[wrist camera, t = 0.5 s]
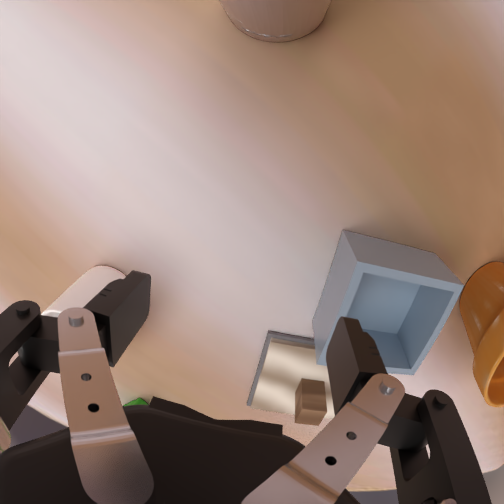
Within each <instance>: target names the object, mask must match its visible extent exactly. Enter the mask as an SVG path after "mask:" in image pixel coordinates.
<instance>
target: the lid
mask: <svg viewBox="0 0 504 504" xmlns="http://www.w3.org/2000/svg"><path fill="white" fill-rule="evenodd" d="M250 408H252V409H257V410H263V411H269V412H276V413H282V414H289V415H295V423H299V424H308V425H318V426H319V424H320V423H321V421H322V419H323V418H324V419H333V418H334V417H335V414H334V407H333V400H332V394H331V388H330V381H329V375H328V369H327V366H323V365H316V354H315V345H310V344H304V343H299V342H293V341H287V340H282V339H277V338H271V341H270V344H269V347H268V351H267V354H266V357H265V360H264V364H263V367H262V370H261V374H260V377H259V380H258V383H257V386H256V390H255V393H254V396H253V399H252V402H251V407H250Z"/></svg>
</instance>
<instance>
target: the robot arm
mask: <svg viewBox="0 0 504 504" xmlns="http://www.w3.org/2000/svg"><path fill="white" fill-rule="evenodd" d="M219 1H220V3H221V5H222V6H223V8H224V10H225V11H226V13H227V14H228V16H229V18H230V20H231V21H232V23H233V24H234V25H235V26H236V27H237V28H238V29H239V30H241V31H242V32H244V33H245V34H247V35H249V36H251V37H253V38H256V39H259V40H263V41H269V42H286V41H291V40H295V39H299V38H301V37H303V36H305V35H307V34H309V33H310V32H312V31H313V30H314V29H316V28H317V27H318V25H319V24H320V23H321V22H322V20H323V18H324V16H325V14H326V11H327V9H328V6H329V4H330V2H331V0H219ZM150 287H151V276H150V275H149V274H146V273H142V272H138V271H134V270H133V271H132V272H130V273H129V274H128V275H127V276H126V277H125V278H124V279H120V278H119V279H117V280H114V281H112V282H110V283H109V284H108V285H106V286H105V287H104V289H102V290H101V291H100V292H99V293H98V294H97V295H96V296H95V297H94V298H92V299H91V300H90V301H89V302H88V303H87V304H86V305H85V306H84V307H83V308H79V307H74V308H68V309H66V310H64V311H62V312H61V313H60V314H59V316H58V317H52V316H44V315H41V312H40V307H39V305H38V304H37V303H35V302H33V301H27V300H24V301H18V302H15V303H13V304H12V305H11V306H9V307H8V308H7V309H6V310H5V311H4V312H2V313H1V314H0V504H360V503H359V502H358V501H357V500H356V499H355V498H354V497H353V496H352V495H351V494H350V493H349V491H348V490H347V489H346V487H347V485H348V484H349V483H350V481H351V480H352V479H353V477H354V476H355V475H356V473H357V472H358V470H359V469H360V468H361V466H362V465H363V463H364V462H365V461H366V459H367V458H368V456H369V455H370V453H371V452H372V450H373V449H374V447H375V446H376V444H377V443H378V444H381V445H385V446H388V447H390V452H391V458H392V463H393V469H394V475H395V481H396V487H397V494H398V501H399V504H492V503H491V500H490V496H489V493H488V490H487V487H486V484H485V481H484V478H483V475H482V472H481V469H480V466H479V463H478V461H477V458H476V455H475V453H474V450H473V447H472V445H471V442H470V440H469V437H468V435H467V432H466V430H465V427H464V425H463V423H462V420H461V418H460V416H459V413H458V411H457V409H456V406H455V404H454V402H453V400H452V399H451V398H450V397H449V396H448V395H447V394H445V393H444V392H442V391H439V390H429V391H427V392H426V393H425V395H424V396H423V398H419V397H416V396H412V395H409V394H406V393H405V388H404V386H403V384H402V383H401V382H400V381H399V380H398V379H397V378H395V377H393V376H391V375H388V373H387V370H386V368H385V365H384V363H383V360H382V358H381V356H380V353H379V350H378V349H377V345H376V343H375V340H374V339H373V338H372V337H371V336H370V335H369V334H368V333H367V332H363V330H362V327H361V325H360V322H359V320H358V319H354V318H349V317H343V316H341V317H340V318H339V320H338V322H337V324H336V327H335V330H334V332H333V335H332V337H331V340H330V342H329V345H328V348H327V352H326V363H327V369H328V375H329V381H330V388H331V394H332V400H333V407H334V414H335V417H334V418H333V419H332V420H331V421H330V422H329V423H328V424H327V425H326V427H325V428H324V429H323V430H322V431H321V432H320V433H319V434H318V435H317V436H316V437H315V438H314V439H313V440H312V441H311V442H310V443H309V444H308V445H307V446H306V447H305V446H304V445H303V444H301V443H300V442H298V441H296V440H294V439H292V438H290V437H288V436H286V435H283V434H282V427H283V425H279V424H272V423H266V422H260V421H254V420H216V419H213V418H210V417H208V416H206V415H204V414H202V413H199V412H197V411H195V410H193V409H191V408H189V407H187V406H185V405H181V404H178V403H174V402H171V401H167V400H164V399H160V398H157V397H154V396H153V398H152V400H151V402H150V405H142V404H137V405H128V406H122V404H121V401H120V398H119V395H118V392H117V389H116V386H115V383H114V380H113V377H112V374H111V370H110V367H109V366H111V367H114V366H115V364H116V363H117V361H118V360H119V358H120V357H121V355H122V354H123V353H124V351H125V350H126V348H127V347H128V345H129V344H130V342H131V341H132V339H133V338H134V336H135V335H136V333H137V332H138V331H139V329H140V328H141V326H142V325H143V323H144V322H145V320H146V319H147V316H148V313H149V307H150ZM17 351H18V354H19V356H18V357H17V358H16V359H15V360H14V362H13V363H12V364H11V365H10V366H9V362H10V359H11V358H12V356H13V355H14V354H15V353H16V352H17ZM50 372H54V373H60V375H61V383H62V390H63V396H64V403H65V408H66V414H67V419H68V424H69V427H68V428H65V429H63V430H60V431H57V432H54V433H51V434H49V435H46V436H43V437H40V438H37V439H35V440H31V441H28V442H25V443H22V444H19V445H16V446H13V447H10V448H9V446H10V443H11V435H10V432H9V430H10V429H11V427H12V426H13V424H14V423H15V421H16V420H17V418H18V417H19V415H20V414H21V412H22V411H23V409H24V408H25V406H26V405H27V404H28V402H29V401H30V399H31V398H32V396H33V395H34V394H35V392H36V391H37V389H38V388H39V387H40V385H41V384H42V382H43V381H44V380H45V378H46V377H47V376H48V374H49V373H50ZM427 444H428V445H429V448H430V459H429V457H428V453H427V450H426V445H427Z"/></svg>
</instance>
